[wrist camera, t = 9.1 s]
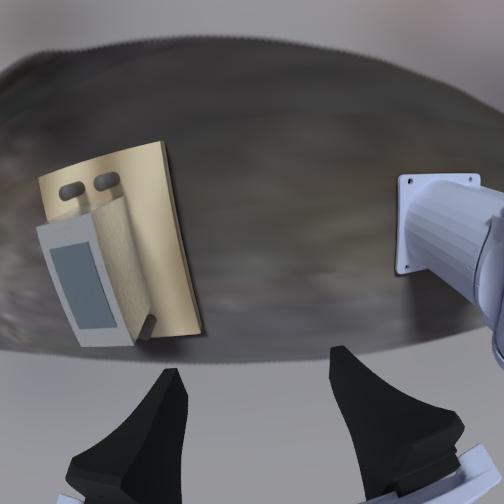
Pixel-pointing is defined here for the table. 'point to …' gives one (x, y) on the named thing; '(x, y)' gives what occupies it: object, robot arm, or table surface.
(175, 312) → the tan flat board
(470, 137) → the table surface
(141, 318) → the block
